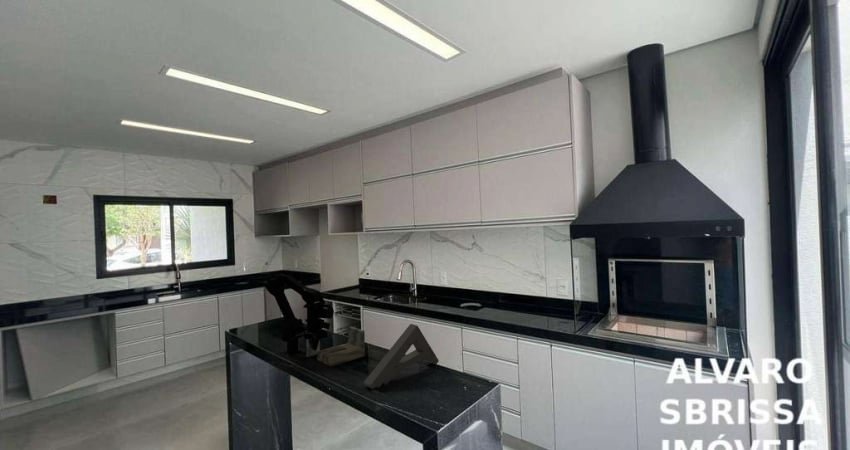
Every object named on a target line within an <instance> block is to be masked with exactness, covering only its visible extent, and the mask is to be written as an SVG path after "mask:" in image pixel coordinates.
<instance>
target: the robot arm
mask: <svg viewBox="0 0 850 450" xmlns="http://www.w3.org/2000/svg"><path fill="white" fill-rule="evenodd" d="M286 286H287V287H288V288H290V289H291V290H293V291H294V292H296V293H297V294H298V295H300V296H301V299H302V300H303V301H304V302H305V304H304V305H303V306H302V307H303V308H304V309H306V319H304V321H305V323H306V325H305V324H304V323H303V320H302V318H297V317H296V315H295V314H294V311H293V309H292V307H291V304H290V302H289V300H288V298H287V296H286V293H285V289H286ZM265 288H266V290H267V292H268V293H269V294H270V295H271V296H273V297H274V299H275V301H276V303H277V306H278V308H279V311H280V312H281V315H282V317H283V319H284V322H285V325H284V331H285V333H284V334H282V335H281V340H282V342H285V344H286V346H285V349H284V350H283V352H284V353H285V354H287V355H293V354H297V353H300V352H302V349H301V348H299V346H300V345H299V339H300V338H303V337H304V339H305V340H306V339H309V338H310V340H311V343H312V346H313V349H314V351H316V350H317V347H318V343H319V341H320V342H321V339H325V338H328V337H329V331H327V330H330V328H331V324H332V323H331V322H327V321H325V319H326V320H328V319H329V320H330V319H332V318H333V316H334V314H335V310H334V307H332V305H331V303H328V304H327V303H326V301H325V298H323V296H322V293H321V292H320V290H317V289H315V288H313V287H312V288H311V287H308V286H307V285H305V284H303V283H302V282H300V281H299V280H297V279H296V278H294V277H293V276H292V275H290V274H286V275H282V276H280V277H277V278H276V277H275V278H270V279H267V280H266V282H265Z"/></svg>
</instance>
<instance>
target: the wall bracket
mask: <svg viewBox="0 0 850 450" xmlns="http://www.w3.org/2000/svg"><path fill="white" fill-rule="evenodd" d="M412 346H413V347H414V348H415V350H413V351H411V352H409V353H407V352H408V351H409V349H410V348H412ZM439 361H440V360H439V358H438V357H437V355H436V354H435V352H434V350H433V349H432V347H431V346H430V344H429V342H428V340H427V339H426V337H425V336H424V334H423V332H422V331H421V329H420V327H419V326H418V325H417V324H412V323H409V325H408V326H407V327H406V329H405V330H404V331H403V333H402V334H401V335H400V336H399V338H397V340H396V341H395V342H394V344H393V345H392V346H391V347H390V349H389V350H388V351H387V352H386V354H385V355H384V357H383V358H382V359H381V360H380V361H379V362H378V364H377V365H376V366H375V367H374V369H373V370H372V371H371V372H370V373H369V375H368V376H367V377H366V378H365V379H364V381H363V382H362V383H363V384H364V386H366V387H368V388H369V389H371V390H374V389H375V388H378V389H379V388H381V386H382V385H385V386H386V385H388V384H389V383H390V381H392V380H393V379H394V377H395V376H396V375H397V374H398V373H400V372H401V371H403V370H404V369H406V368H407V367H409V366H411V365H414V364H417V363H421V362H426V363H430V364H433V365H438V363H439Z"/></svg>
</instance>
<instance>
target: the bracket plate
mask: <svg viewBox="0 0 850 450" xmlns="http://www.w3.org/2000/svg"><path fill="white" fill-rule="evenodd" d="M305 341H306V348H305V349H306V357H307V358H311V357H313V356H316V355H317V351H320V350H321V340H320V341H319V343H318V347H317V350H316V351H314V349H313V346H312V343H311V340H310V338H309V339H305Z"/></svg>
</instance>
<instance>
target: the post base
mask: <svg viewBox="0 0 850 450" xmlns="http://www.w3.org/2000/svg"><path fill="white" fill-rule="evenodd" d="M365 332H366V331H365V330H364V329H360V328H357V327H354V326H351V325H349V326H347V343H343V344H340V345H335V346H332V347H327V348H324V349H320V351H317V357H316V358H317V361H318V362H320V363H323V364H324V365H326V366H328V367H330V368H332V367H334V366H337V365H340V364H344V363H346V362H350V361H353V360H356V359H360V358H362V357H365V356H366V355H365V354H366V353H365V352H366V348H365V346H366V345H365V344H366V343H365V341H366V340H365V337H366V335H365Z"/></svg>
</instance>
